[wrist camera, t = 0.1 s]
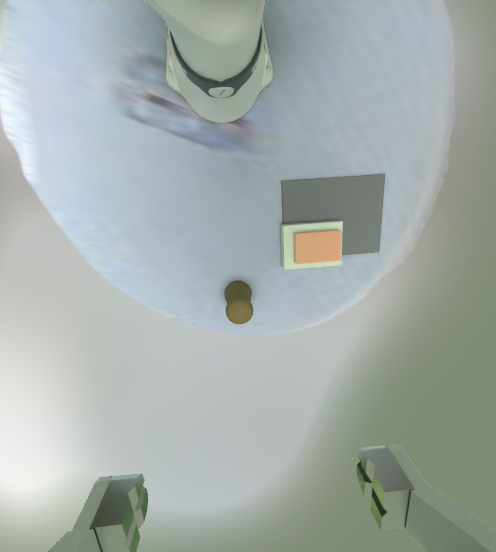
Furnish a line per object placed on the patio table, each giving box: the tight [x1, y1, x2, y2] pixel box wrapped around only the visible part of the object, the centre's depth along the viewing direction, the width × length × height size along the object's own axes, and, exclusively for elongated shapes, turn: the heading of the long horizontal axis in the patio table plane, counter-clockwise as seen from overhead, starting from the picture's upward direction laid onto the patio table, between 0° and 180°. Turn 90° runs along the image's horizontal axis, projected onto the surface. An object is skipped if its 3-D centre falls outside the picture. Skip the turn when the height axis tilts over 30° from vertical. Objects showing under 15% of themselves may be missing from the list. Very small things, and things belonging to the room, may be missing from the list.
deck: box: [281, 220, 343, 270], centre depth 55 cm, size 9×12×3 cm
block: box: [293, 229, 342, 264], centre depth 53 cm, size 6×9×2 cm, turn 94°
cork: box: [225, 281, 253, 324], centre depth 53 cm, size 6×6×11 cm
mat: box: [282, 174, 385, 255], centre depth 55 cm, size 16×21×1 cm
